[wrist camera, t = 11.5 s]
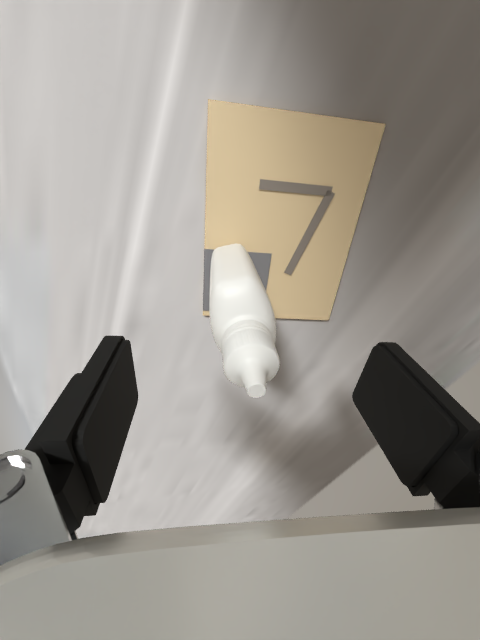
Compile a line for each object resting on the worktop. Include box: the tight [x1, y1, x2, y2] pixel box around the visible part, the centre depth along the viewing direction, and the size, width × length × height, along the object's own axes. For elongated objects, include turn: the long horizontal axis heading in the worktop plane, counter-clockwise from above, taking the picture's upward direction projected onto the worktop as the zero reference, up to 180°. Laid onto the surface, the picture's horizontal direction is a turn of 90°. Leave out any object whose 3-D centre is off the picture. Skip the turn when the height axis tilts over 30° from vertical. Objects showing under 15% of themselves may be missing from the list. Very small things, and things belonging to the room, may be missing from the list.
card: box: [203, 99, 386, 320], centre depth 19 cm, size 14×11×1 cm
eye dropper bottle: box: [209, 243, 280, 398], centre depth 15 cm, size 4×6×12 cm
